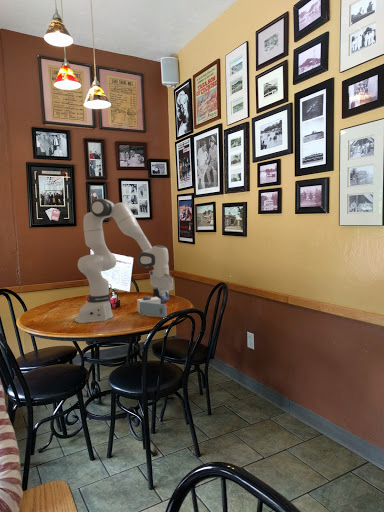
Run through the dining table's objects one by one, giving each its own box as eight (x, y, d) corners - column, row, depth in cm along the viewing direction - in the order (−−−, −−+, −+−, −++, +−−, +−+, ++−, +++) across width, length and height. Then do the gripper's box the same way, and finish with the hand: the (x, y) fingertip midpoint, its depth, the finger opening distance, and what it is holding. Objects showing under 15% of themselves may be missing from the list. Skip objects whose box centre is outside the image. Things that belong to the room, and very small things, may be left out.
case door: (139, 314, 218) (138, 302, 217) (141, 313, 220) (140, 301, 219) (164, 318, 208) (164, 305, 207) (166, 317, 209) (166, 304, 209)
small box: (160, 304, 245) (159, 289, 244) (153, 303, 249) (152, 288, 248) (169, 301, 254) (169, 286, 253) (162, 300, 258) (161, 285, 257)
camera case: (141, 314, 220) (140, 299, 219) (137, 311, 227) (136, 296, 226) (161, 311, 225) (160, 296, 224) (157, 308, 232) (156, 294, 231)
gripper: (176, 274, 203) (176, 298, 205) (156, 270, 219) (157, 292, 221) (166, 275, 199) (167, 299, 201) (147, 271, 215) (148, 293, 217)
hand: (162, 295), depth 211 cm, fingers closed
